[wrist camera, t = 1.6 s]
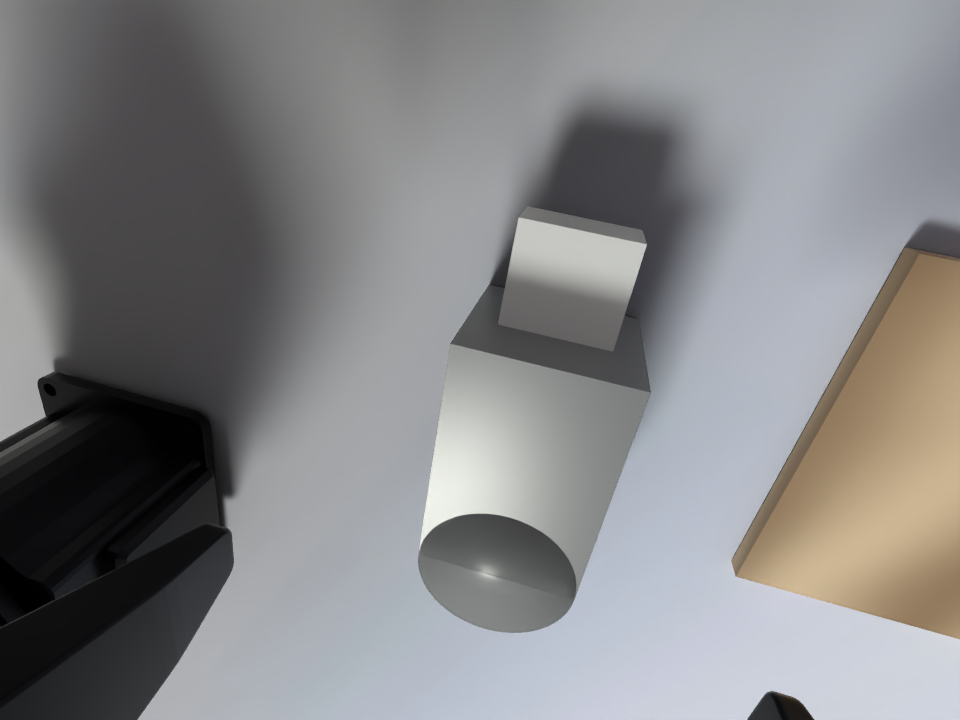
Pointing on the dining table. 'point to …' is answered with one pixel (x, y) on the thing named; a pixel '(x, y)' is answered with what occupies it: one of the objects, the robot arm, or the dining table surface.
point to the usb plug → (535, 424)
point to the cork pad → (878, 466)
